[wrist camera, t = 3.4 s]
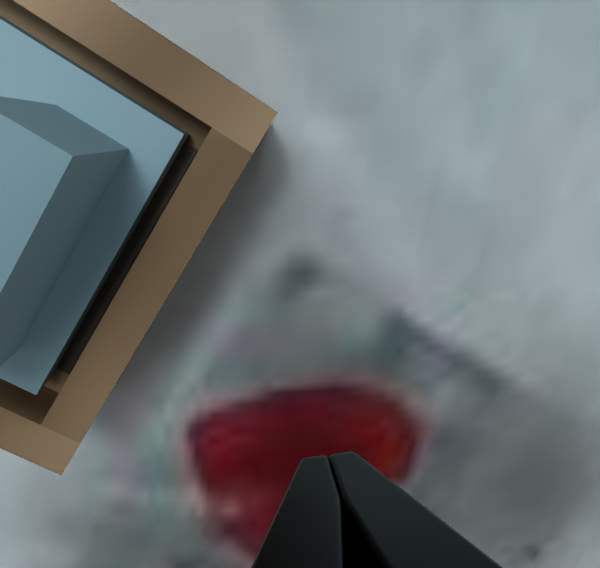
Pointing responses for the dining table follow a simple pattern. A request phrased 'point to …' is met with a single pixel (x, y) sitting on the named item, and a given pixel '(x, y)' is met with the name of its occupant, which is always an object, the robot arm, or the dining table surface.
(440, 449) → the dining table surface
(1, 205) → the lid
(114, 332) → the slide box
